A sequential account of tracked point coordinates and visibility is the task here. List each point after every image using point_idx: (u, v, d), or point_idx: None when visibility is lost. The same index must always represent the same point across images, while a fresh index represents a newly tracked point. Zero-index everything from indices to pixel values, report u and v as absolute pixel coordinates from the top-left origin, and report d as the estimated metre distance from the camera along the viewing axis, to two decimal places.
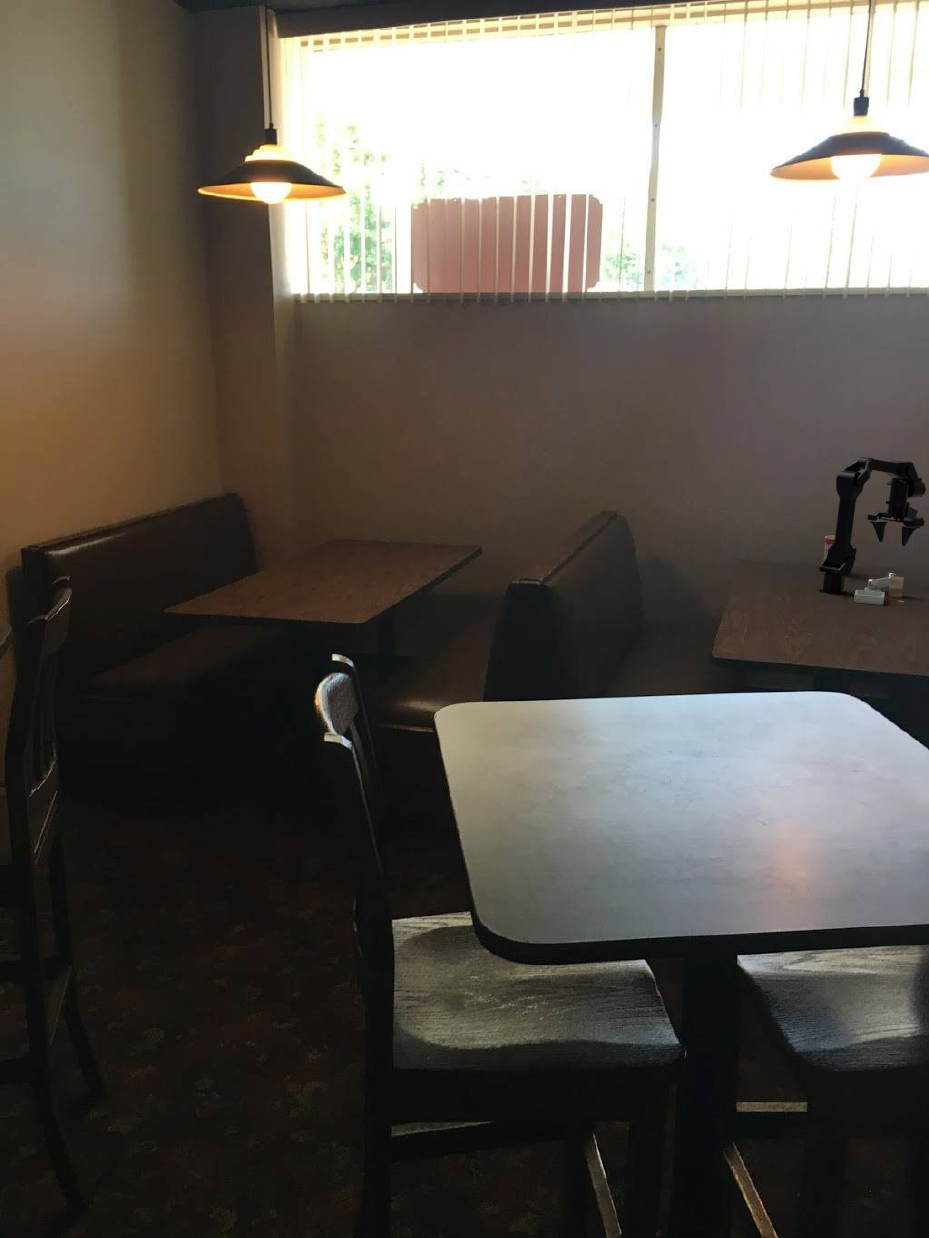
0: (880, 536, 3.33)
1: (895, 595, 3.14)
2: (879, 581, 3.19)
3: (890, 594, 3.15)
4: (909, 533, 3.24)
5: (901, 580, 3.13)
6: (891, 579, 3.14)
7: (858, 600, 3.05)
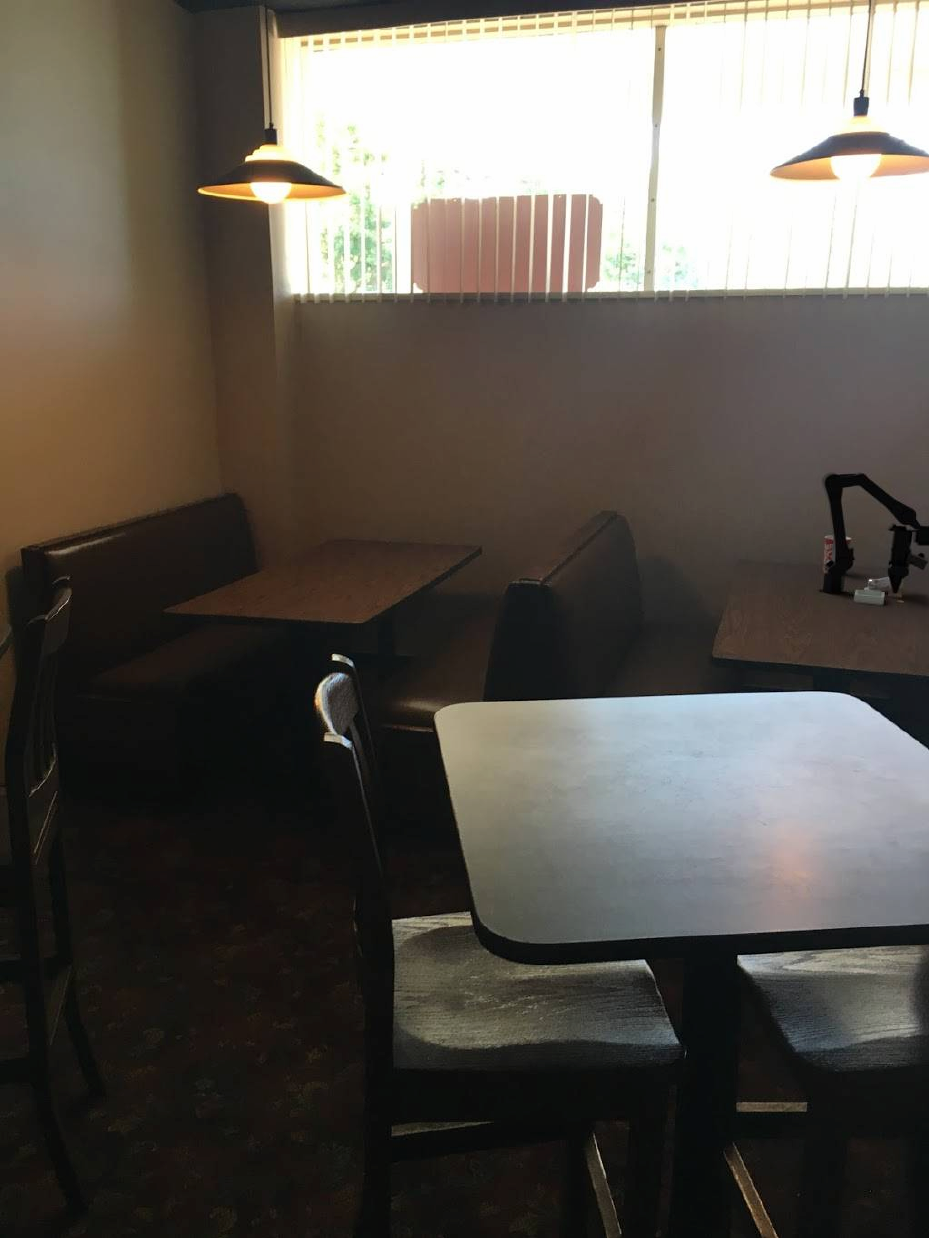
0: None
1: (895, 595, 3.14)
2: (879, 581, 3.19)
3: (890, 594, 3.15)
4: (898, 580, 3.12)
5: None
6: None
7: (858, 600, 3.05)
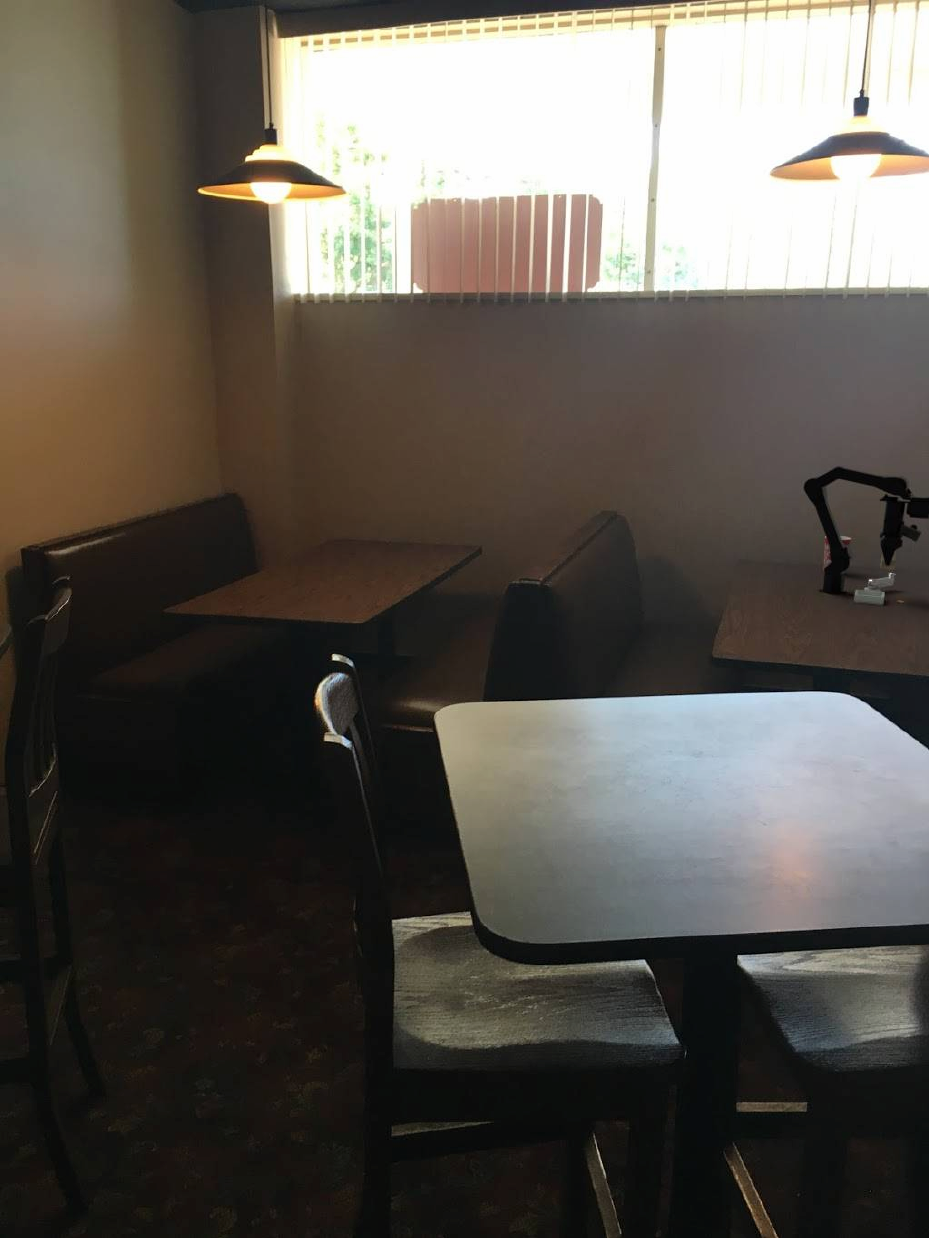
0: None
1: (887, 567, 3.08)
2: (879, 581, 3.19)
3: (882, 566, 3.09)
4: (891, 552, 3.06)
5: (894, 552, 3.07)
6: None
7: (858, 600, 3.05)
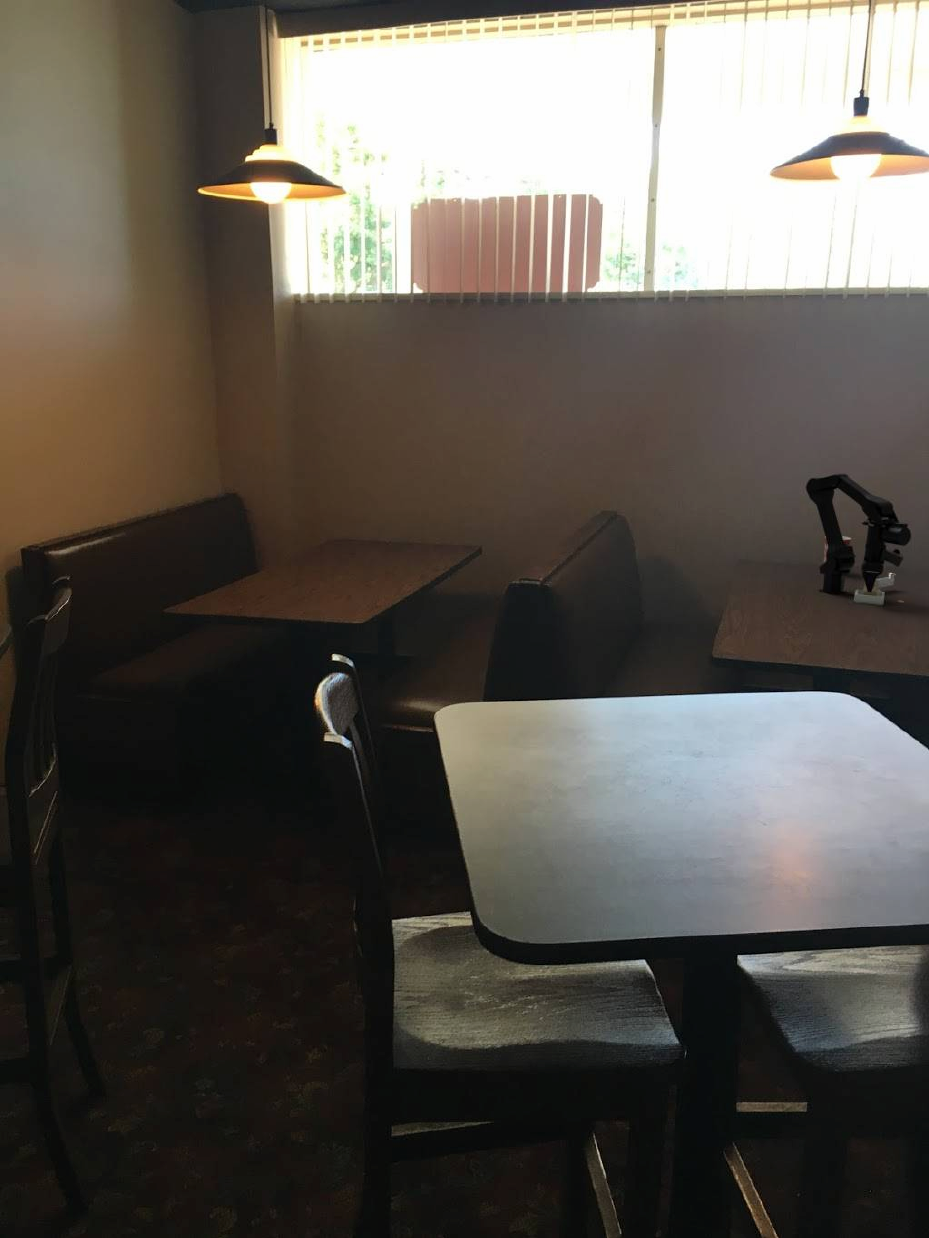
0: None
1: None
2: (879, 581, 3.19)
3: None
4: (872, 578, 3.01)
5: (875, 583, 3.04)
6: None
7: (858, 600, 3.05)
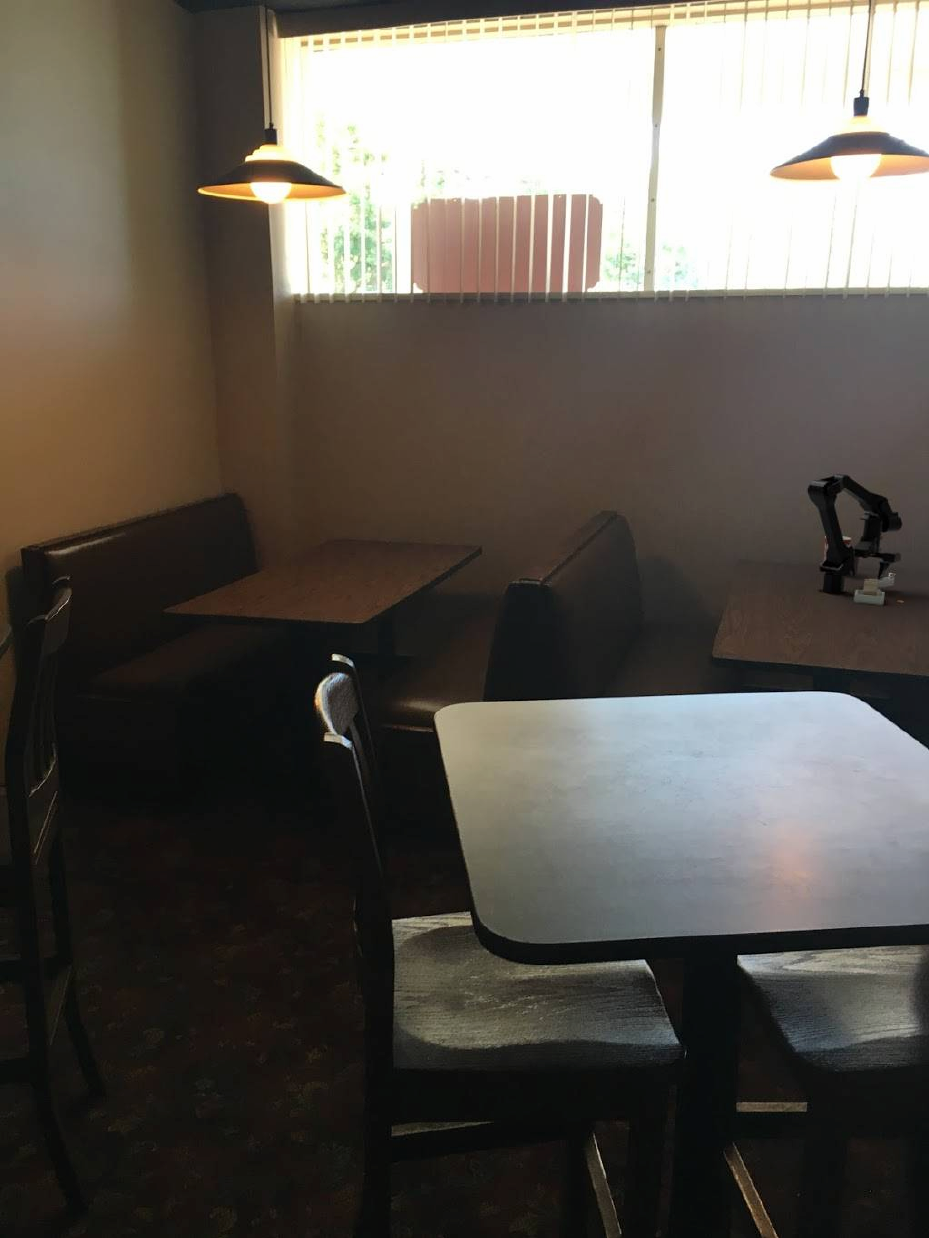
0: None
1: None
2: (879, 581, 3.19)
3: None
4: None
5: (875, 583, 3.04)
6: (865, 582, 3.05)
7: (858, 600, 3.05)
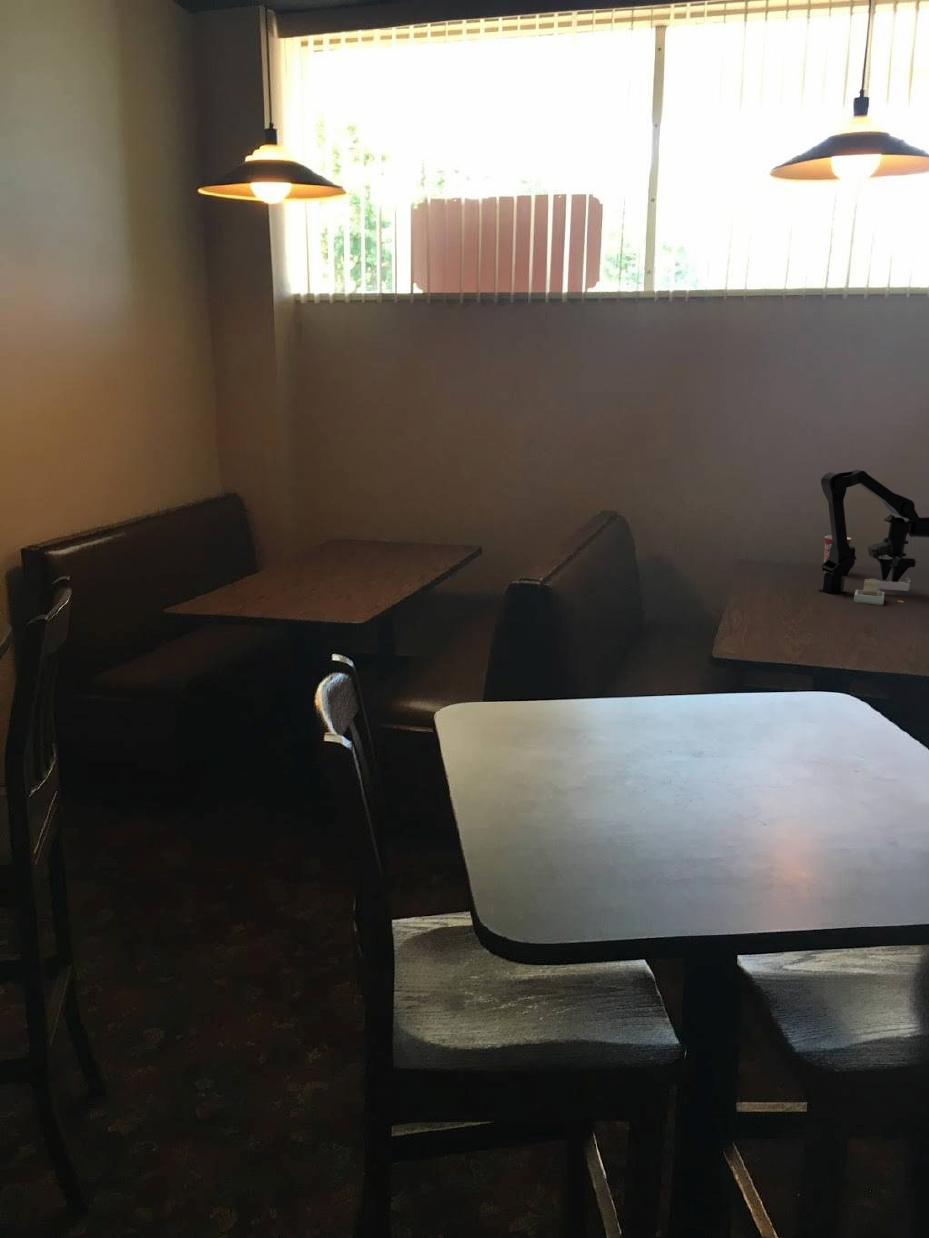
0: None
1: None
2: (881, 582, 3.17)
3: None
4: None
5: (875, 583, 3.04)
6: (865, 582, 3.05)
7: (858, 600, 3.05)
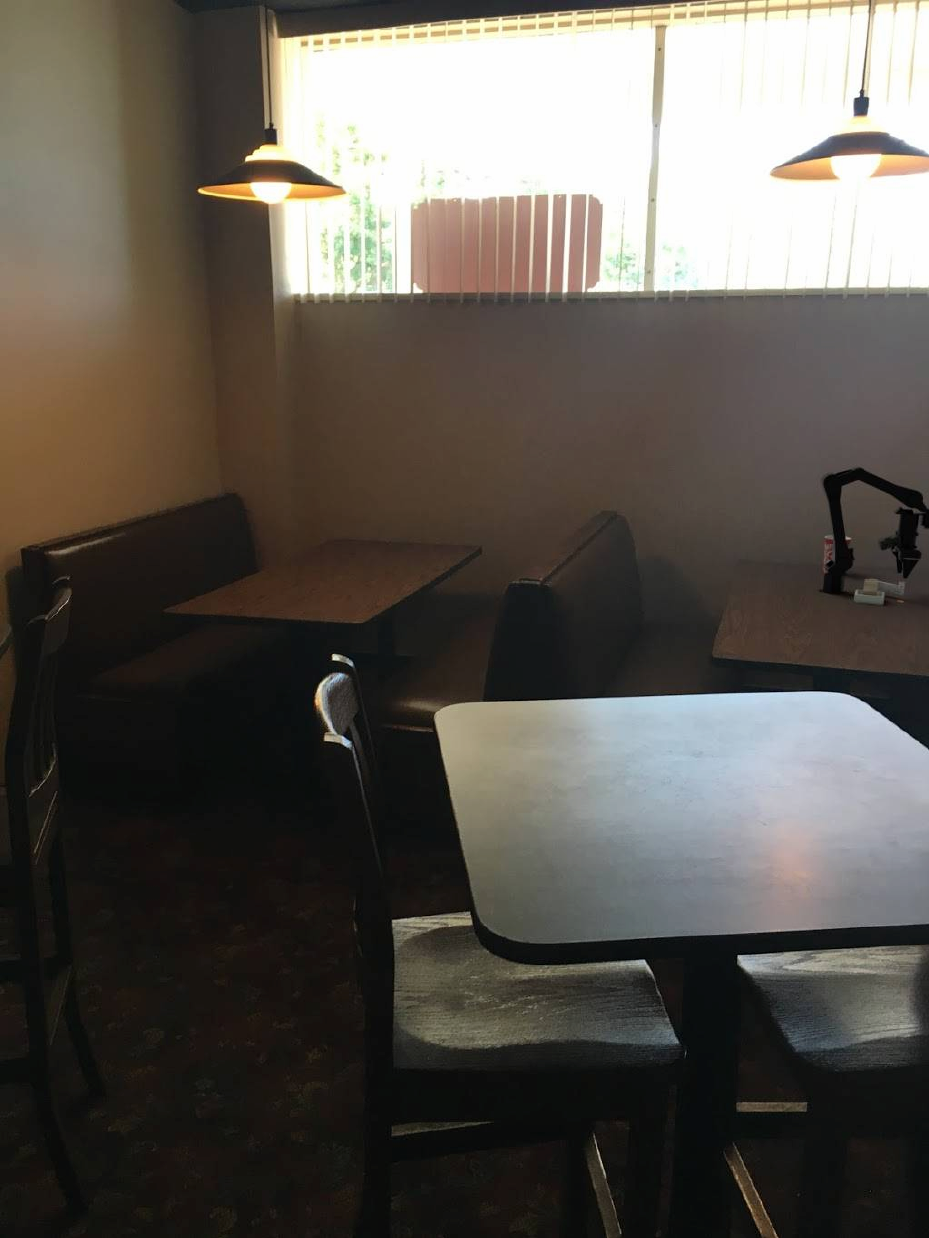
0: None
1: None
2: None
3: None
4: None
5: (875, 583, 3.04)
6: (865, 582, 3.05)
7: (858, 600, 3.05)
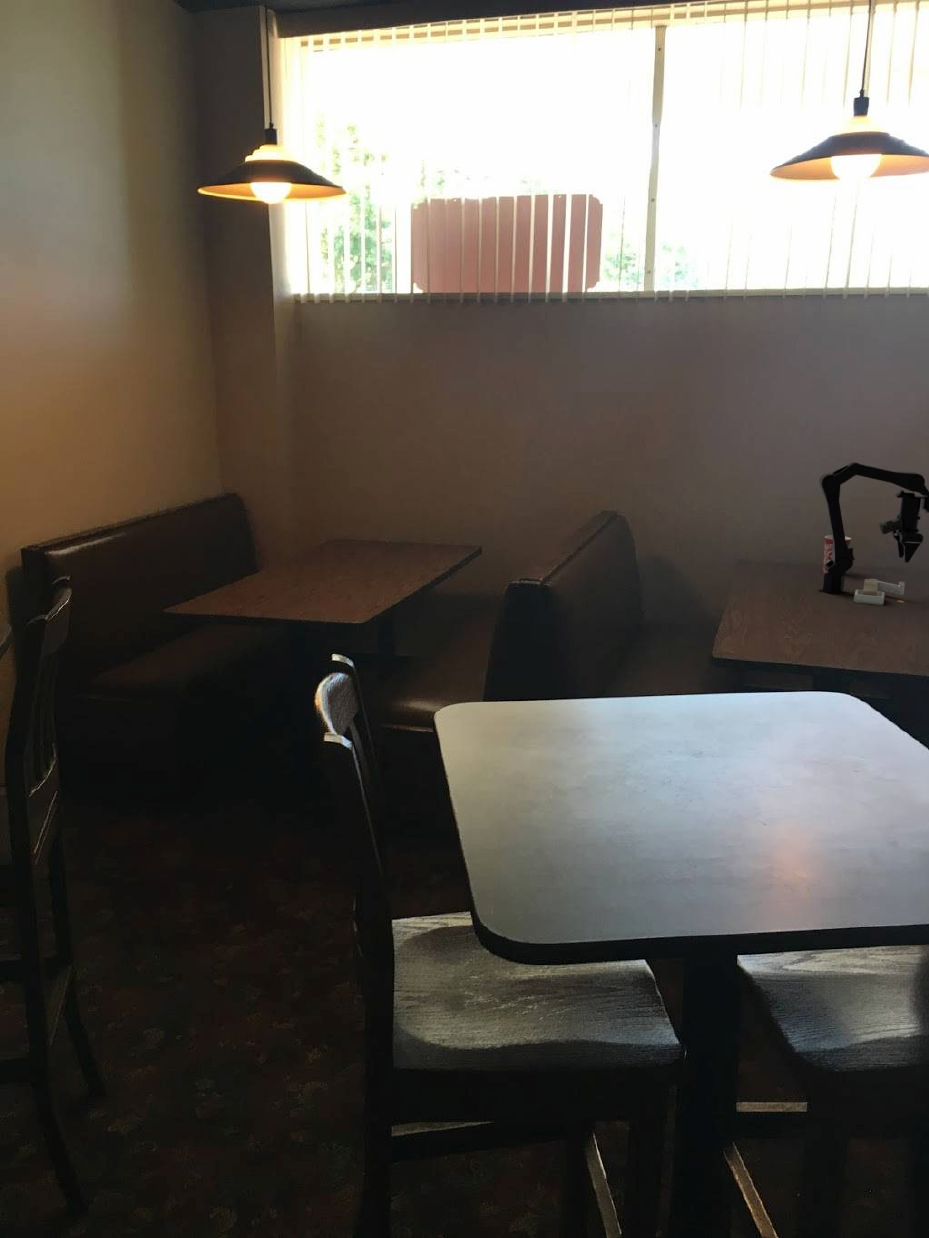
0: None
1: None
2: None
3: None
4: None
5: (875, 583, 3.04)
6: (865, 582, 3.05)
7: (858, 600, 3.05)
